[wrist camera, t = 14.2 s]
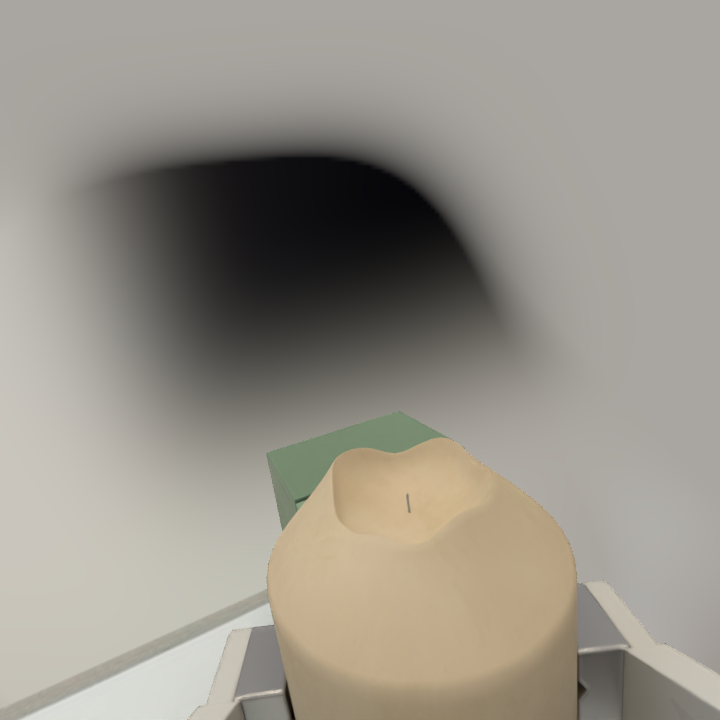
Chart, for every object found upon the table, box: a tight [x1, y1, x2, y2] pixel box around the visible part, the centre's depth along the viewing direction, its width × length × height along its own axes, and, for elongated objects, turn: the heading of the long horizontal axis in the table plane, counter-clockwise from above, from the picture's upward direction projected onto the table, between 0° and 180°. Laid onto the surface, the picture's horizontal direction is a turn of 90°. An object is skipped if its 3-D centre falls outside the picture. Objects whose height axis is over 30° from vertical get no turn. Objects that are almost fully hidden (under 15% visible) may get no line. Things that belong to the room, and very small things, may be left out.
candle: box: [267, 437, 577, 720], centre depth 9 cm, size 6×6×10 cm
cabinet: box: [267, 411, 454, 531], centre depth 37 cm, size 9×14×17 cm, turn 116°
